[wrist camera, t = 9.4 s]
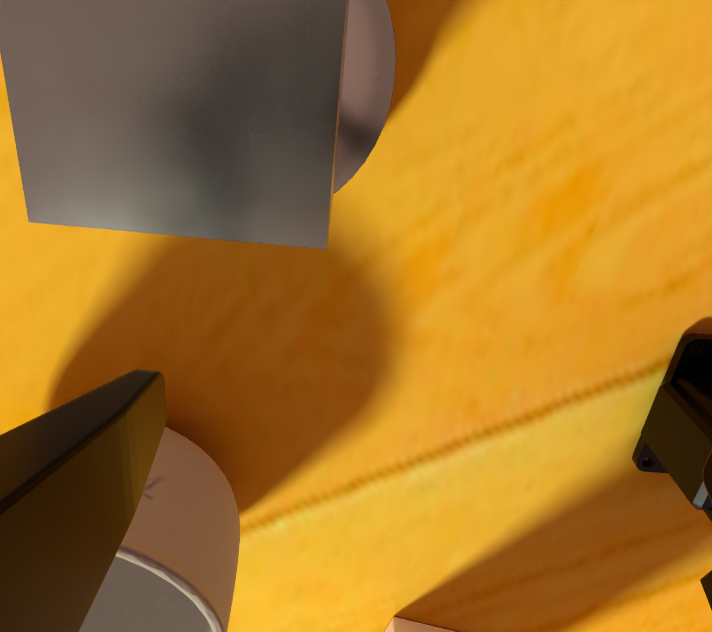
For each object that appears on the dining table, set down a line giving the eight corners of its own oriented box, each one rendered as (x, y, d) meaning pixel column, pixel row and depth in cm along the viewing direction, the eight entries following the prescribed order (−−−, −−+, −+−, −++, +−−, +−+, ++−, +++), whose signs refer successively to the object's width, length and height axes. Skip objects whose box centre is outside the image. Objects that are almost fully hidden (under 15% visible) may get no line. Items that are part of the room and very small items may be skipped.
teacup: (201, 348, 22) (127, 500, 15) (293, 538, 26) (271, 725, 19) (-105, 431, 23) (-308, 604, 16) (32, 596, 28) (-78, 788, 21)
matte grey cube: (353, -52, 14) (354, -108, 9) (334, 182, 17) (326, 249, 11) (114, -81, 14) (-35, -157, 9) (133, 162, 17) (29, 222, 11)
